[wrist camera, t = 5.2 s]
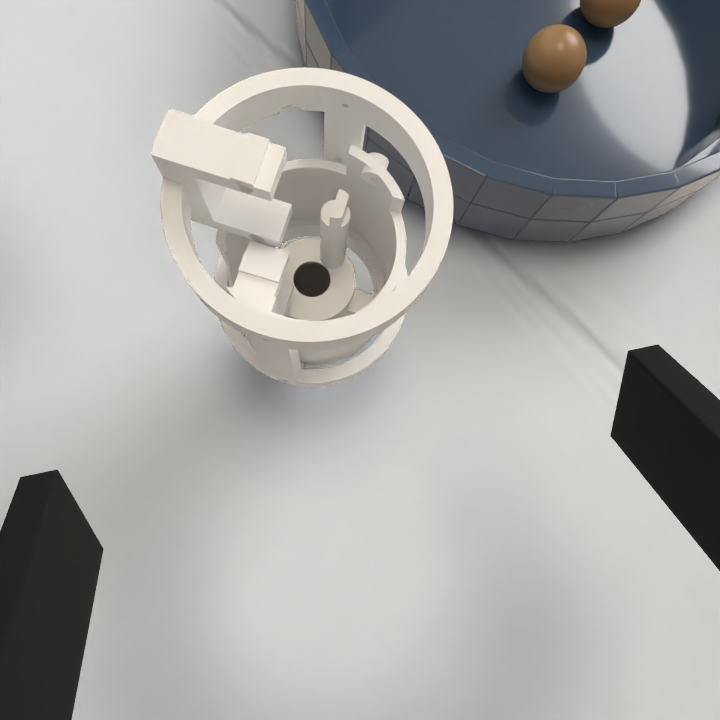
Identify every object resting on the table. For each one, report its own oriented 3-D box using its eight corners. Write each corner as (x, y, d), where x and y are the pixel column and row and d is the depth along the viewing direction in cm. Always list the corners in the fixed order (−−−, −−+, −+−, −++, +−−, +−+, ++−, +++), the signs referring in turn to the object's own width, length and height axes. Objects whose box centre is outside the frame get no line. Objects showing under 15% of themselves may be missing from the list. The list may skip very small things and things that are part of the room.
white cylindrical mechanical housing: (265, 237, 28) (210, -4, 14) (404, 281, 29) (498, 88, 14) (217, 375, 27) (97, 273, 12) (363, 420, 27) (416, 372, 12)
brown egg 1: (502, 80, 30) (522, 39, 27) (536, 42, 31) (559, -3, 28) (548, 116, 30) (573, 79, 27) (581, 77, 30) (610, 36, 27)
